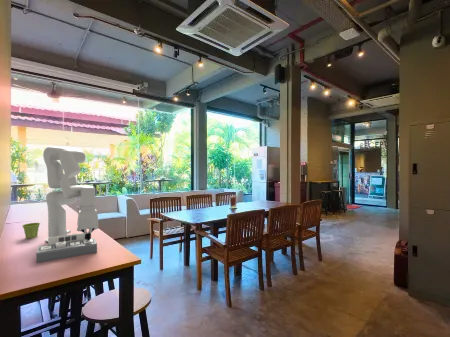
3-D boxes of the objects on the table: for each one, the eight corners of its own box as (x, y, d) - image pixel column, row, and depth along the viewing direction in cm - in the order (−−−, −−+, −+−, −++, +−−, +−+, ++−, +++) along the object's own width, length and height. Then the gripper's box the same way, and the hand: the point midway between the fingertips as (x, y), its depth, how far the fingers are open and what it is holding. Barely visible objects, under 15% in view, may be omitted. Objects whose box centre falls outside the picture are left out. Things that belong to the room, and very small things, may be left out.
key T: (84, 248, 138) (83, 242, 138) (83, 246, 142) (83, 240, 142) (93, 246, 141) (93, 241, 141) (92, 244, 145) (92, 239, 145)
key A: (40, 255, 127) (40, 249, 127) (41, 252, 131) (40, 247, 131) (51, 253, 130) (51, 247, 130) (51, 251, 134) (51, 245, 134)
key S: (55, 250, 131) (55, 244, 131) (55, 248, 135) (55, 242, 135) (66, 249, 134) (66, 243, 134) (65, 246, 137) (65, 241, 137)
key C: (70, 250, 135) (70, 245, 135) (69, 248, 139) (69, 242, 138) (80, 249, 137) (80, 243, 137) (79, 246, 141) (79, 241, 141)
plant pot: (28, 240, 160) (28, 226, 160) (18, 238, 163) (18, 225, 163) (43, 236, 169) (43, 223, 168) (33, 234, 172) (33, 222, 171)
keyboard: (36, 262, 124) (36, 245, 123) (38, 255, 134) (37, 238, 133) (97, 252, 139) (96, 236, 138) (94, 246, 149) (94, 231, 148)
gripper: (72, 210, 134) (72, 244, 134) (103, 208, 142) (103, 239, 143) (72, 208, 140) (72, 240, 141) (101, 205, 148) (101, 236, 149)
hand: (87, 240), depth 142 cm, fingers closed
